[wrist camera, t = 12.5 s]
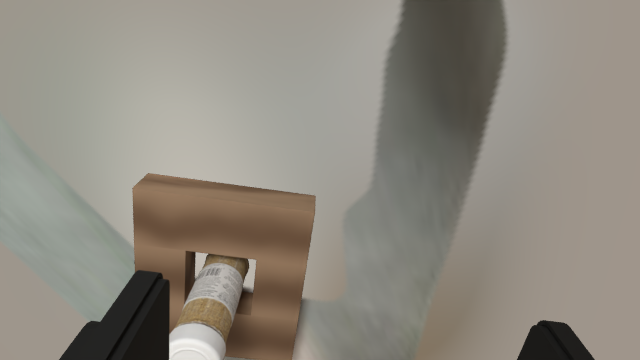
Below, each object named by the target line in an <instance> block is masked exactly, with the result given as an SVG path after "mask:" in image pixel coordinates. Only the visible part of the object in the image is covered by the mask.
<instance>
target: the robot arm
mask: <svg viewBox="0 0 640 360" xmlns="http://www.w3.org/2000/svg"><path fill="white" fill-rule="evenodd" d="M169 327H170V282H169V280H167V279H163V275H162V273H160V272H152V271H144V270H138V271H136V272H135V274H134V275H133V276H132V278H131V279H130V281H129V282H128V283H127V285H126V286H125V288H124V289H123V291H122V292H121V293H120V295H119V296H118V298H117V299H116V300H115V302H114V303H113V305H112V306H111V308H110V309H109V310H108V312H107V313H106V315H105V316H104V317H103V319H102V320H101V322H96V321H90V322H89V323H87V324H86V325H85V326H84V327H83V328H82V330H81V331H80V332H79V334H78V335H77V336H76V338H75V339H74V340H73V342H72V343H71V344H70V346H69V347H68V349H67V350H66V351H65V352H64V354H63V355H62V356H61V358H60V359H59V360H169ZM517 360H594V358H593V357H592V355H591V354H590V353H589V352H588V350H587V349H586V348H585V346H584V345H583V344H582V342H581V341H580V340H579V338H578V337H577V336H576V334H575V333H574V332H573V331H572V329H571V328H570V327H569V326H568V325H567V324H565V323H561V322H553V321H544V320H543V321H540V322H538V324H537V325H534V326H532V328H531V329H530V332H529V334H528V336H527V338H526V340H525V343H524V345H523V348H522V350H521V352H520V354H519V356H518V359H517Z"/></svg>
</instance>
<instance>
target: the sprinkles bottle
mask: <svg viewBox="0 0 640 360" xmlns="http://www.w3.org/2000/svg"><path fill="white" fill-rule="evenodd" d="M248 269H249V262H248V259H247V258H240V257H232V256H224V255H216V254H208V255H207V257H206V261H205V264H204V267H203V269H202V270H201V271H200V273H199V275H198V277H197V279H196V281H195V283H194V285H193V288H192V290H191V292H190V294H189V296H188V298H187V300H186V302H185V305H184V307H183V309H182V313H181V316H180V318H179V320H178V322H177V324H176V327H175V328H174V329H173V331H172V332H171V333H170V334H169V360H223V359H224V356H225V352H226V341H227V338H228V334H229V331H230V328H231V326H232V323H233V320H234V316H235V313H236V309H237V306H238V303H239V299H240V296H241V292H242V288H243V283H244V279H245V276H246V274H247V272H248Z"/></svg>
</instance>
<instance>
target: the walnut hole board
mask: <svg viewBox="0 0 640 360" xmlns="http://www.w3.org/2000/svg"><path fill="white" fill-rule="evenodd" d="M314 215H315V196H313V195H306V194H298V193H291V192H283V191H276V190H269V189H261V188H254V187H246V186H238V185H231V184H224V183H216V182H209V181H202V180H195V179H187V178H180V177H172V176H165V175H157V174H150V173H148V174H147V175H146V176H145V177H144V178H143V179H142V180H141V181H139V182H138V183H137V184H136V185H135V186H134V187H133V217H134V218H133V220H134V253H135V272H136V271H138V270H144V271H152V272H160V273H162V275H163V279H167V280H169V282H170V327H169V334H170V333H171V332H172V331H173V329H174V328H175V327H176V324H177V322H178V320H179V318H180V316H181V313H182V309H183V307H184V305H185V302H186V300H187V298H188V296H189V294H190V292H191V290H192V288H193V285H194V280H195V252H200V253H208V254H216V255H224V256H232V257H240V258H248V259H255V260H257V261H256V271H255V281H254V290H253V293H251V292H243V291H242V292H241V296H240V299H239V303H238V306H237V309H236V313H235V316H234V320H233V323H232V326H231V328H230V331H229V334H228V338H227V341H226V352H225V356H229V357H238V358H246V359H255V360H292V355H293V349H294V342H295V336H296V330H297V323H298V317H299V311H300V304H301V298H302V291H303V285H304V279H305V272H306V266H307V260H308V253H309V247H310V241H311V234H312V228H313V222H314Z"/></svg>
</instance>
